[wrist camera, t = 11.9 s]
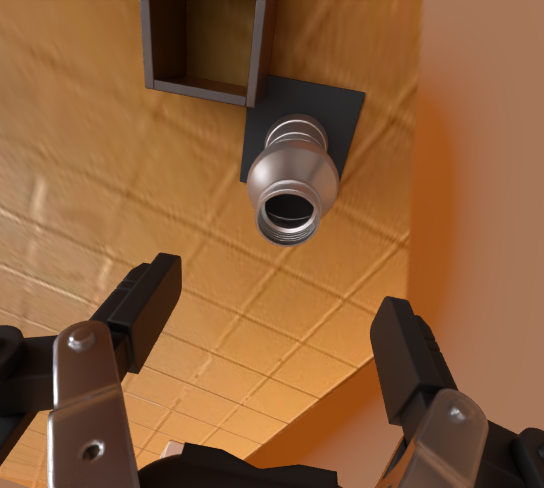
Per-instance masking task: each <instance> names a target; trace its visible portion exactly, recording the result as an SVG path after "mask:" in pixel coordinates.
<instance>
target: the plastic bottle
mask: <svg viewBox="0 0 544 488" xmlns="http://www.w3.org/2000/svg"><path fill="white" fill-rule="evenodd" d="M327 149H328V138H327V134H326V131H325V130H324V128H323V126H322V125H321V124H320V122H319V121H317V120H316V119H315V118H313V117H311V116H309V115H306V114H299V113H295V114H289V115H286V116H284V117H282V118H280V119H279V120H277V121H276V122H275V123H274V124H273V125H272V126H271V128H270V129H269V131H268V133H267V135H266V139H265V150H264V151H263V152H261V153H260V154H259V156H258V157H257V158H256V160H255V161H254V162H253V164H252V166H251V168H250V170H249V173H248V178H247V191H248V195H249V199H250V201H251V203H252V206H253V208H254V209H255V211H256V213H255V223H256V227H257V229H258V231H259V233H260V234H261V236H262V237H263V238H264V239H266V240H267V241H268V242H270V243H272V244H274V245H277V246H281V247H294V246H298V245H301V244H303V243H305V242H307V241H308V240H310V239H311V238H312V237H313V236H314V235H315V233H316V232H317V230H318V227H319V224H320V219H321V218H323V217H324V216H325V215H326V214H327V212H328V211H329V210H330V208H331V207H332V205H333V203H334V202H335V199H336V197H337V194H338V189H339V175H338V172H337V168H336V166H335V164H334V163H333V161H332V159H331V157H330V156H329V155H328V154H327Z"/></svg>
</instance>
